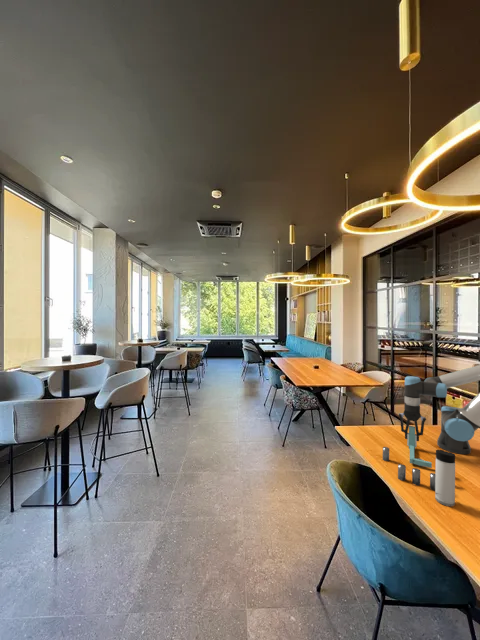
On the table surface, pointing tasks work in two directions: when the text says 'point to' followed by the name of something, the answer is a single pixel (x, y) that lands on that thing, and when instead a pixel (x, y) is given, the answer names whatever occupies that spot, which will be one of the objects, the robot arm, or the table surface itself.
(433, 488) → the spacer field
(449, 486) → the travel mug
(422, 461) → the teal bent bar
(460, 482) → the table surface
